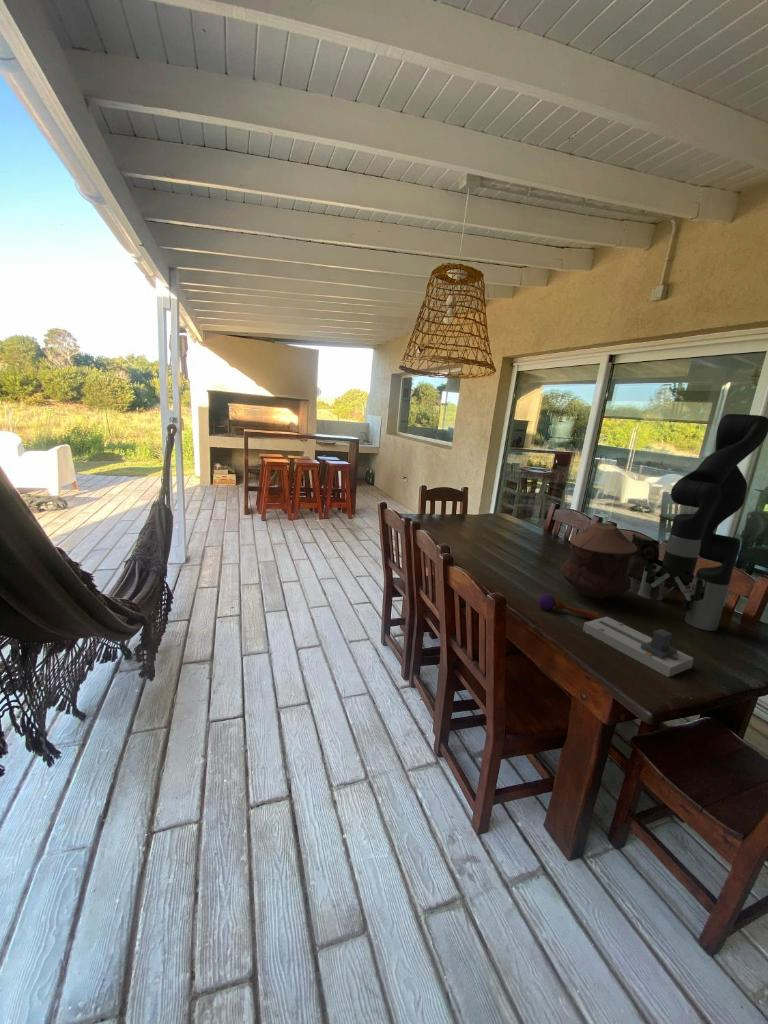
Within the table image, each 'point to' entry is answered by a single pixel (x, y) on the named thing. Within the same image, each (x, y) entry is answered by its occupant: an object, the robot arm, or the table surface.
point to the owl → (642, 555)
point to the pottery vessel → (599, 562)
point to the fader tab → (660, 644)
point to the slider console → (636, 646)
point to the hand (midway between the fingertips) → (669, 605)
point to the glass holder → (646, 587)
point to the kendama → (563, 606)
